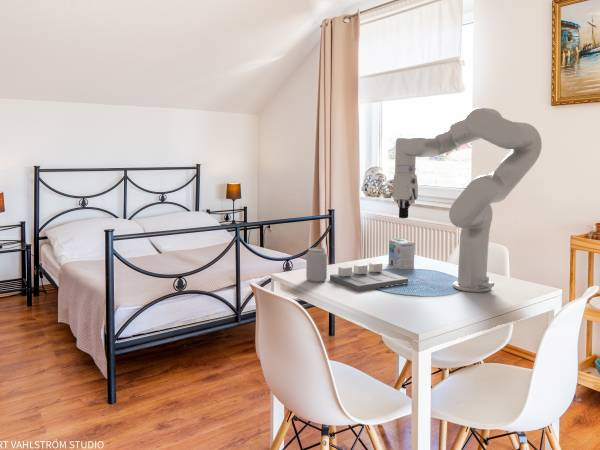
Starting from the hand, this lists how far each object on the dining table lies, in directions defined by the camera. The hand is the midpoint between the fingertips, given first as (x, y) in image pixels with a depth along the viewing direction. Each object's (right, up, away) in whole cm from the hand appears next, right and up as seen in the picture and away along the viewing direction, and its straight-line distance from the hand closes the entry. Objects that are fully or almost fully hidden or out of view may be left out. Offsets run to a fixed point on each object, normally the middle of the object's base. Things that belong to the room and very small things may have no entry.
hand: (403, 217), depth 201 cm
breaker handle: (-17, -21, -5) cm, 27 cm away
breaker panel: (-15, -24, -10) cm, 29 cm away
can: (-34, -24, -8) cm, 42 cm away
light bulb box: (+2, -20, +17) cm, 27 cm away
